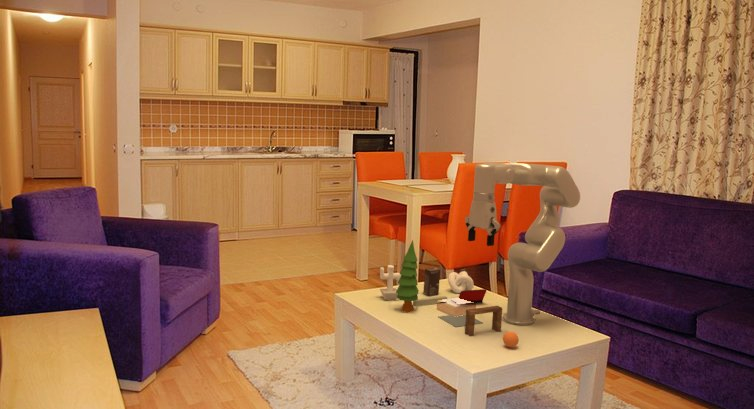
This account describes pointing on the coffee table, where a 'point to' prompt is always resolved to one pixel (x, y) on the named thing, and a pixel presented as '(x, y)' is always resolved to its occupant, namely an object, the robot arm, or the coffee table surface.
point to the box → (431, 281)
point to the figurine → (389, 283)
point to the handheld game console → (473, 295)
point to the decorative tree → (408, 280)
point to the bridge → (472, 312)
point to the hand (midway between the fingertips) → (480, 243)
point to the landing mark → (457, 320)
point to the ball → (510, 339)
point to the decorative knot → (460, 282)
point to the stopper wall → (428, 301)
